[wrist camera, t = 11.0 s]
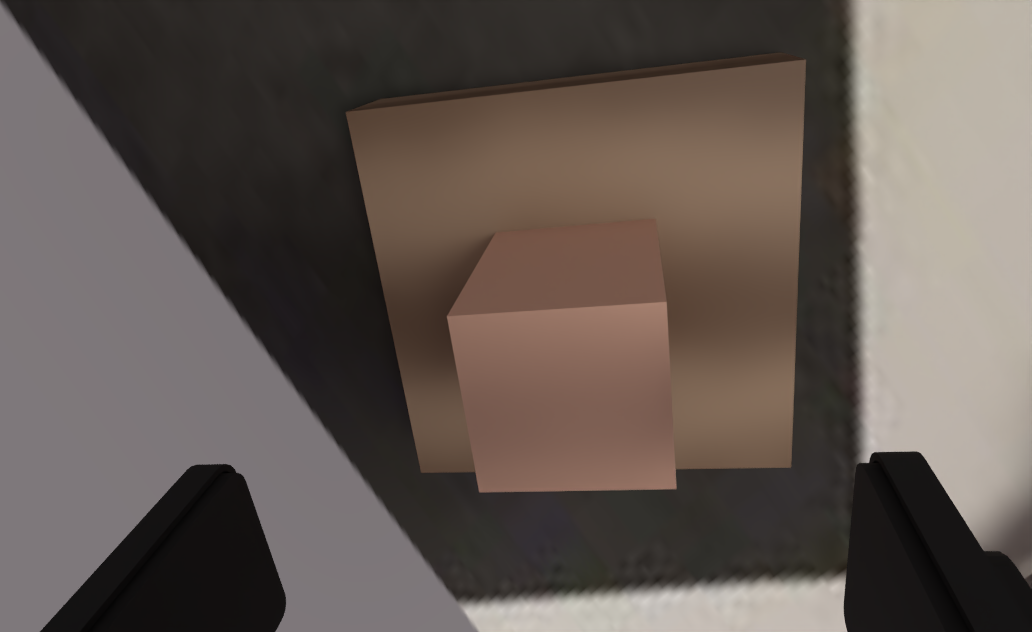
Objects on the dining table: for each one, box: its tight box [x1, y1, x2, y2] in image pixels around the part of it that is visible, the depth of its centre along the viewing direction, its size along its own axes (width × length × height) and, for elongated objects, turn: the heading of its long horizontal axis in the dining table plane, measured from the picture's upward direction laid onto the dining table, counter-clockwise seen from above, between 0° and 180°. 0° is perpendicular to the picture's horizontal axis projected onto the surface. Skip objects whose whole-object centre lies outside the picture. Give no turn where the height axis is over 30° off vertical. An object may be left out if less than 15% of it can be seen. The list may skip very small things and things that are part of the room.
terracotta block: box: [447, 219, 676, 492], centre depth 18 cm, size 4×4×6 cm
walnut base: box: [346, 52, 806, 473], centre depth 22 cm, size 12×12×3 cm
